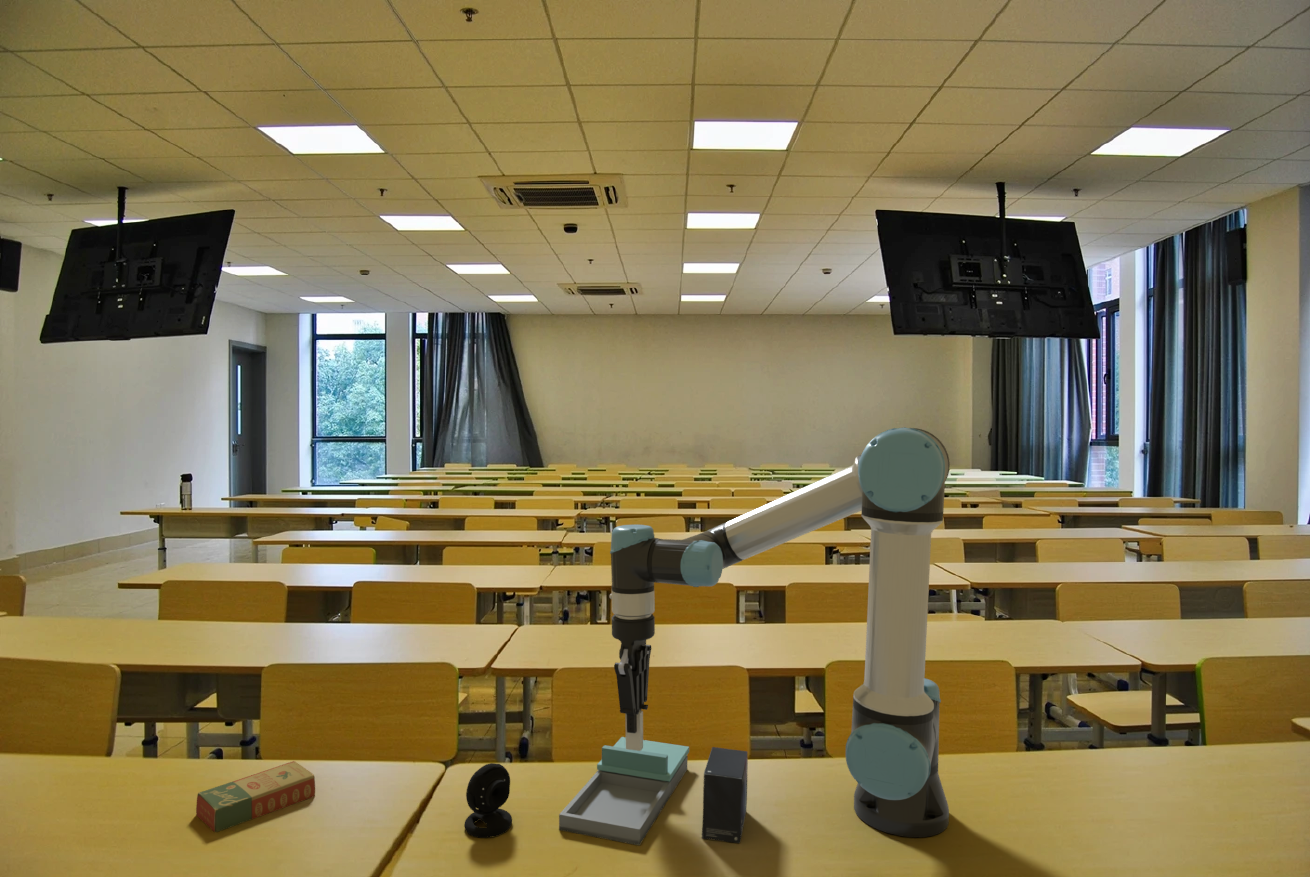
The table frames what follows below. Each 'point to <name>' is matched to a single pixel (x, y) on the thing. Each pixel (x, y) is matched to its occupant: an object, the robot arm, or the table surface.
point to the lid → (643, 759)
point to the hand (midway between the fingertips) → (634, 748)
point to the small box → (725, 795)
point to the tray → (618, 806)
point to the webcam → (488, 801)
